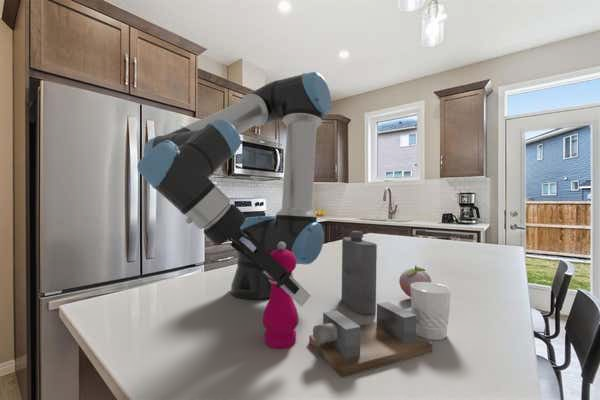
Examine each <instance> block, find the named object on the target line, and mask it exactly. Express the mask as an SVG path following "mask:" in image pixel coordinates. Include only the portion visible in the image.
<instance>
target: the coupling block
mask: <svg viewBox="0 0 600 400" xmlns="http://www.w3.org/2000/svg"><path fill="white" fill-rule="evenodd" d="M419 319H420V316H419V313H418V311H417V310H416V309H415V308H411V307H409V308H402V307H400V306H398V305H396V304H394V303H391V302H390V301H383V302H378V303H377V302H376V322H370V323H365V324H361V325H359V324H358V323H355V322H354V320H352V319H351V318H348V317H347V316H346V315H344V314H343V313H341V312H340V311H338V310H337V309H336V310H331V311H330V310H329V311H325V312H323V319H322V321H323V323H322V324H317V325H313V329H312V334H310V335H309V336H308V337H309V338H308V339H309V340H308V344H310V345H311V347H312V348H313V349H314V350H315V351H316V352H317V353H318V354H319V355H320V356H321V357H322V358H323V359H324V361H326V362H327V363H328V364H329V366H330V367H332V369H333V370H334V369H335V370H334V371H335V372H336V371H337V372H338V373H337V372H336V373H337V374H338V375H339V376H340V377H341V378H344V377H347V376H352V375H353V374H354V373H355V374H357V372H358V373H362V372H365V371H364V370H366V371H369V370H372V369H371V368H373V369H376V368H380V367H383V366H382V365H384V366H387V365H390V364H393V363H397V361H398V362H401V361H404V359H405V360H408V359H413V358H416V357H419V356H422V355H425V354H426V353H427V354H429V353H432V352H433V343H431V342H429V341H427V340H426V339H425V338H423V337H420V336H418V335H417V334H416V323H418V322H419ZM400 360H401V361H400ZM379 366H380V367H379ZM375 367H376V368H375ZM368 369H369V370H368ZM361 371H362V372H361Z"/></svg>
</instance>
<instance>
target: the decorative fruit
mask: <svg viewBox="0 0 600 400" xmlns="http://www.w3.org/2000/svg"><path fill="white" fill-rule="evenodd" d="M398 282H399V286H400V289H401V290H402V291H403V293H404V294H405V296H408V297H409V298H411V284H412V283H415V282H431V283H432V279H431V276H430V275H429V274H428V272H427V271H426V269H425V268H424V267H419V266H417V265H415V267H414V268H409V269H406V270H404V271H402V273H401V274H400V276H399V280H398Z"/></svg>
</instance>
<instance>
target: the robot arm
mask: <svg viewBox="0 0 600 400" xmlns="http://www.w3.org/2000/svg"><path fill="white" fill-rule="evenodd" d="M331 107H332V96H331V92H330V89H329V86H328V83H327V81H326V80H325V78H324V77H323V76H322V74H320V73H319V72H317V71H312V72H303V73H302V74H300V75H294V76H292V77H286V78H282V79H278V80H275V81H271V82H269V83H267V84H265V85H263V86H261V87H259V88H258V89H255V90H253V91H252V92H249V93H247V94H245V95H244V96H243V97H242V98H241V101H239V102H236V103H234V104H232V105H229V106H227V107H225V108H222V109H221V110H218V111H217V112H214V113H212V114H209V115H207V116H205V117H202V118H200V119H199V120H196V121H193V122H192V123H190V124H187V125H185V126H183V127H181V128H179V129H176V130H173V131H172V132H169V133H167V134H164V135H157V136H155V137H152V138H150V139H149V140H147V142H146V143H145V146H144V148H143V154H144V155H143V156H142V158H141V159H140V160H139V161H138V163H137V171H138V173H139V174H140V175H141V176H142V177H143V178H144V179H145V180H146V182H147V183H148V184H149V185H151V187H152V188H153V189H154V190H156V191H157V192H158V193H159V194H160V195H162V196H163V197H164V198H165V199H167V201H168V202H169V203H170V204H171V205H173V206H174V207H175V208H176V209H177V210H178V211H179V212H180V213H182V215H184V217H187V218H186V219H185V222H186V224H188V225H190V224H191V223H192V222H193V225H194V226H195V227H197V229H198V230H203V234H204V236H206V237H207V238H208V239H209V240H210V241H211V242H212V243H213V244H215V245H216V246H219V245H223V244H224V243H226V242H227V240H228V241H230V242H231V243H230V246H231V247H232V248H233V249H234V250H235V251H237V267H236V270H235V273H234V276H233V280H232V282H231V289H230V292H231V295H232V296H233V297H236V298H239V299H243V300H244V299H245V300H263V299H270V295H271V282H269V275H270V276H271V277H272V278H273V279H274V280H275V281H276V282H277V285H276V287H277V288H279V287H281V288H282V289H283V290H284V291H285V292H286V293H288V294H289V295H290V296H291V297H292V299H293V301H295V302H296V303H297V304H298V305H299V306H300V307H303V306H304V305H305V304H306V303H307V301H308V300H309V299H310V298H311V296H312V295H311V294H310V293H309V292H308V291H307V290H306V289H305V288H304V287H303V286H302V285H301V284H300V283H299V281H297V280H295V278H294V276H293V277H292V276H291V274H290V272H289V271H287V270H286V269H285V268H284V267H282V266H281V265H280V264H279V263H278V262H277V261H276V260H275V259H274V258H273V257H272V256H271V255H270V253H271V252H272V251H274V250H277V249H278V248H277V245H278V243H279V242H284V243H285V244H286V248H285V249H286V250H289V251H291V252H292V253H293V254H294V256H295V258H296V265H310V264H312V263H314V262H315V261H316V260H317V259H318V257H319V256H320V254H321V252H322V249H323V245H324V241H325V231H324V228H323V225H322V224H320V222H317V221H318V219H317V218H318V216H317V215H316V214H315V212H314V211H313V201H314V200H313V198H314V180H315V179H314V178H315V163H316V161H315V160H316V146H317V131H318V130H317V129H318V128H319V127H320V126H321V125H322V124H323V115H327V114H329V112H330V111H331ZM278 121H282V122H283V124H284V125H285V126H286V139H285V140H286V141H285V155H284V167H283V168H284V170H283V185H282V201H281V209H280V210H279V211H277V213H276V214H275V215H261V216H259V215H258V216H251V217H246V215H245V214H244V213H243V212H242V211H241V209H239V208H238V207H237V205H235V204H232V203H231V200H230V198H229V197H228V196H227V195H226V194H225V193H224V192H223V191H222V190H221V188H219V187H218V186H217V185H216V184H215V183H214V182H212V180H211V179H210V177H211V176H212V175H214V173H215V172H216V171H218V170H219V168H221V167H222V166H223V165H224V164H225V163H227V161H228V160H230V159H232V158H233V155H234V154H235V153H236V152H237V151H238V150H239V149H240V147H241V143H242V141H241V137H240V134H242V133H244V132H246V131H247V130H249V129H251V128H252V127H261V126H263V125H265V124H267V123H271V122H272V123H273V122H278ZM230 203H231V204H230Z"/></svg>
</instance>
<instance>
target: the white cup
mask: <svg viewBox="0 0 600 400" xmlns="http://www.w3.org/2000/svg"><path fill="white" fill-rule="evenodd" d="M451 291H452V290H451V288H450V287H448V286H447V285H443V284H441V283H435V282H432V281H431V282H415V283H412V284H411V297H410V308H415V309H416V310H417V311H418V313H419V316H420V319H419V322H418V323H416V335H417V336H419V337H420V338H422V339H425V340H426V339H427V340H430V341H441V340H444V339H446V338H447V335H448V324H449V319H450V318H449V315H450V305H451V304H450V302H451Z"/></svg>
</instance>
